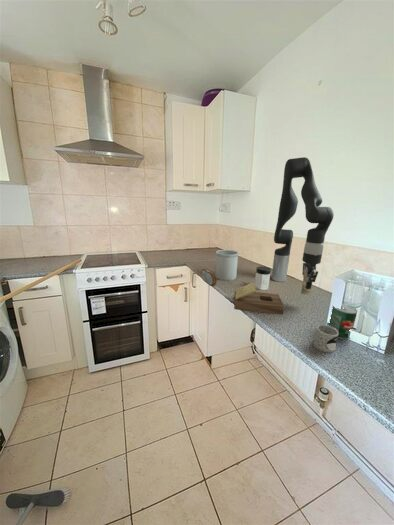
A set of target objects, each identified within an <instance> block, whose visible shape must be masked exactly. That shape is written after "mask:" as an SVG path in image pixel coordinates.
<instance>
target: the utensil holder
mask: <svg viewBox="0 0 394 525" xmlns="http://www.w3.org/2000/svg"><path fill="white" fill-rule="evenodd" d="M239 255H240V254H239V251H237V250H233V249H219V250H216V251H215V275H216V279H217V280H220V281H227V282H228V281H234V280H236V279H237V274H238V261H239V258H238V257H239Z"/></svg>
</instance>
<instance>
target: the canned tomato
mask: <svg viewBox="0 0 394 525" xmlns="http://www.w3.org/2000/svg"><path fill="white" fill-rule="evenodd" d="M332 308H333V309H332ZM332 308H331V312H332V314H331V313H330V317H331V319H329V322H330V323H329V322H328V326H330V327H332V328H336V330H337V331H338V333H339V334H338V338H337V339H341V340H349V339H348V333H349V330H350V329H352V328H353V329H354V326H355V323H356V322H355V321H356V318H357V314H358V309H356V308H355V309H348V308H344V309H343V308H342V309H339V308H335V307H334V306H333V305H332Z"/></svg>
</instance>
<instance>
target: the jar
mask: <svg viewBox="0 0 394 525" xmlns="http://www.w3.org/2000/svg"><path fill="white" fill-rule="evenodd" d="M271 269H272V268H270V267H267V266H262V265H261V266H257V267H256V271H255V279H254V280H255V281H254V285H255V289H256V290H257V289H258V290H261V291H263V290H267V291H268V290H269V287H270V278H271V273H272V270H271Z"/></svg>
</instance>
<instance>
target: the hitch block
mask: <svg viewBox="0 0 394 525" xmlns="http://www.w3.org/2000/svg"><path fill="white" fill-rule="evenodd" d="M233 300H234V302H233V304H234V305H233V309H234V310H237V311H249V312H257V313H265V312H266V314H267V313H269V314H275V315H276V314H277V315H283V314H284V308H285V305H284V303H283V301H282V298H281V297H280V295H279V294H278V293H269V292H260V291H256V292H255V293H252V294H250V295H247V296H245V297H243V298H240V299H238V300H236V289H235V290H234V298H233Z"/></svg>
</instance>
